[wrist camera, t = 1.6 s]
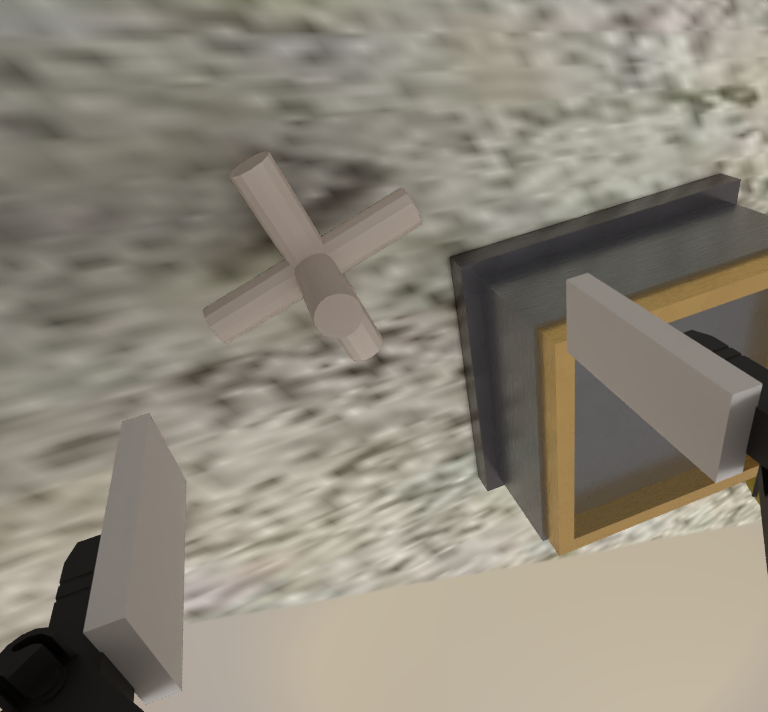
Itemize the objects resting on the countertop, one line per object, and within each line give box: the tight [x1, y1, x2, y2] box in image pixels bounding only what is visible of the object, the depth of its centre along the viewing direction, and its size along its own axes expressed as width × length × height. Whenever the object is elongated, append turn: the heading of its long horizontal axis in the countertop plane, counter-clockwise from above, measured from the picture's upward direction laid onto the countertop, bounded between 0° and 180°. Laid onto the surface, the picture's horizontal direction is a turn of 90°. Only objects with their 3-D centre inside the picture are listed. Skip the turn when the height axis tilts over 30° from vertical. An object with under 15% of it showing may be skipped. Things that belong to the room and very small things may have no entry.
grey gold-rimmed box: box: [450, 174, 768, 556], centre depth 35 cm, size 18×22×9 cm
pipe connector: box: [203, 151, 422, 361], centre depth 25 cm, size 10×10×10 cm
